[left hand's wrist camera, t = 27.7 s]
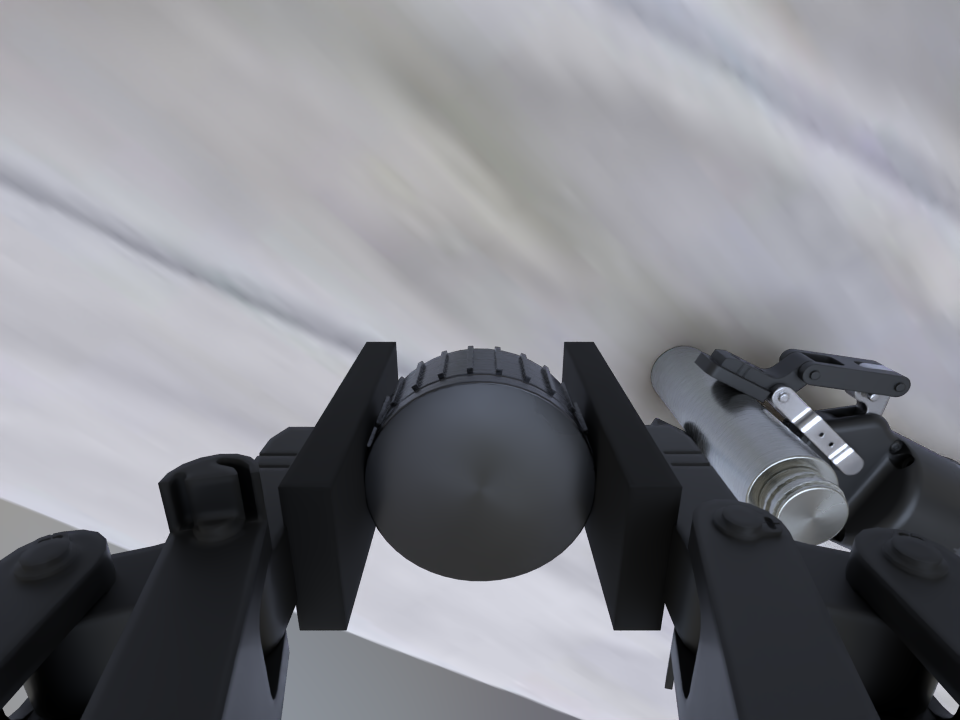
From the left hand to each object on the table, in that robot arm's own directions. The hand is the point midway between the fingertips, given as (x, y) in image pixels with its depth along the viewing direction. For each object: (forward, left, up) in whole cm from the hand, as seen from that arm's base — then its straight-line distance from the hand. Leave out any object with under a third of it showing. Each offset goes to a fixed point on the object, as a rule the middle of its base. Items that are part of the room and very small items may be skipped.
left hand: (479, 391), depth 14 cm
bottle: (+3, +16, -21) cm, 27 cm away
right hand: (+2, +13, -15) cm, 20 cm away
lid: (0, 0, +4) cm, 4 cm away
